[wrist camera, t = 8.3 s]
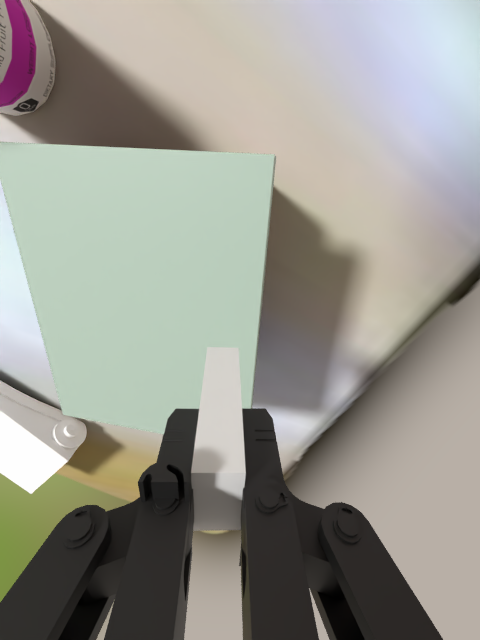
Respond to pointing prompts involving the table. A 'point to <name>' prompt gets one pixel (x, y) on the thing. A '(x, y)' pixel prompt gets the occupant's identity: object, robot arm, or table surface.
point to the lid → (140, 270)
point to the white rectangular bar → (34, 438)
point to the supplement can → (24, 58)
